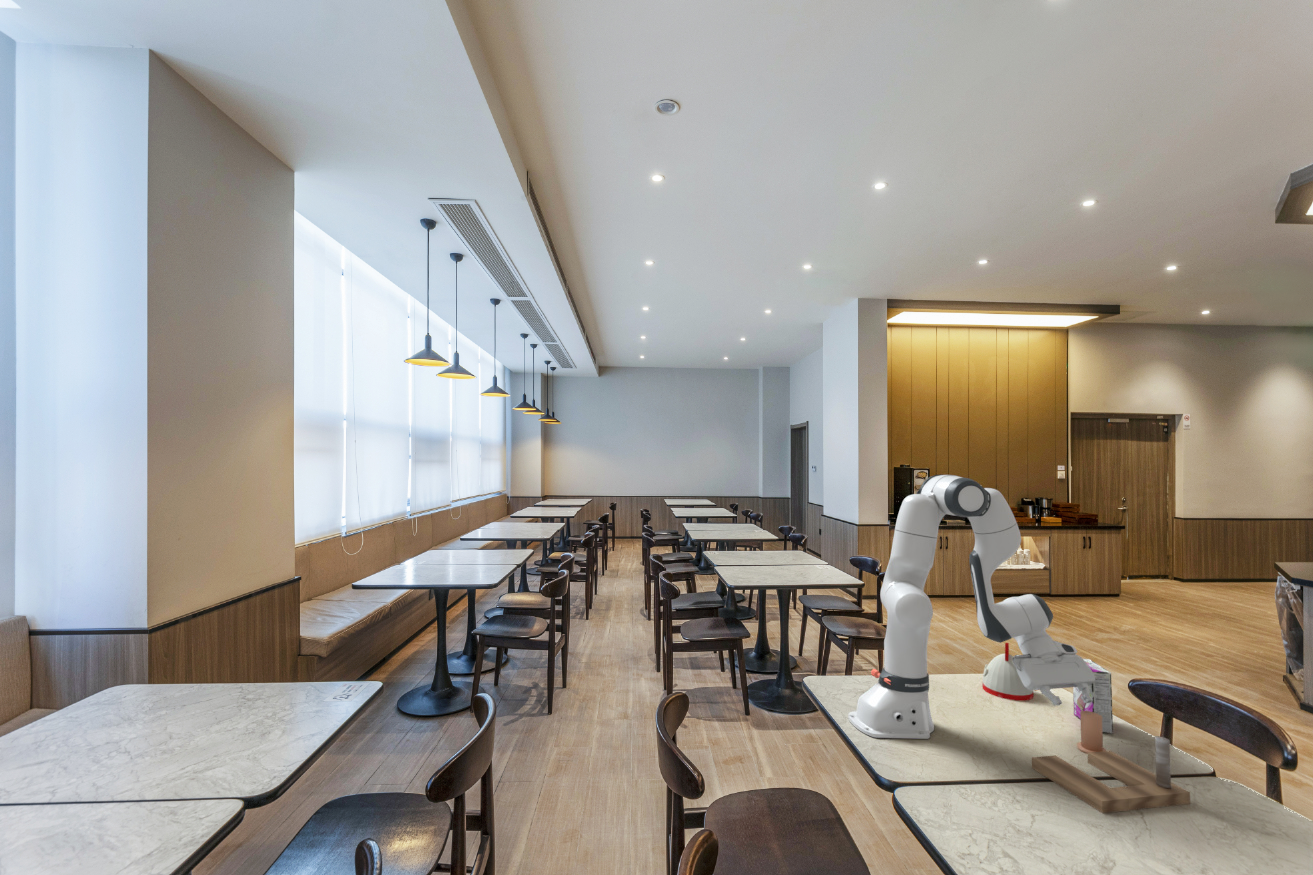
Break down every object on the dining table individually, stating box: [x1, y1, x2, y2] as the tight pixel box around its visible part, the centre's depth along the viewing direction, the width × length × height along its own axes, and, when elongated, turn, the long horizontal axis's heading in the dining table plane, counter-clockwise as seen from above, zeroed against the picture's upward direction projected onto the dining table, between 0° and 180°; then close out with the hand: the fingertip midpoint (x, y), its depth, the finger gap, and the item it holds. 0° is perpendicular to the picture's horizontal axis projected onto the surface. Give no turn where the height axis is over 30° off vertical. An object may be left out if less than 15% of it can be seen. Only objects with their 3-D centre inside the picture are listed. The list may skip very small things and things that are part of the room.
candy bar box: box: [1072, 658, 1114, 734], centre depth 161 cm, size 11×5×16 cm, turn 168°
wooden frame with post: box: [1031, 735, 1191, 814], centre depth 131 cm, size 22×18×12 cm
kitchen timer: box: [981, 642, 1034, 702], centre depth 184 cm, size 14×14×15 cm
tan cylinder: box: [1076, 711, 1108, 755], centre depth 146 cm, size 6×6×9 cm
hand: (1073, 703), depth 152 cm, fingers open, 8 cm apart
